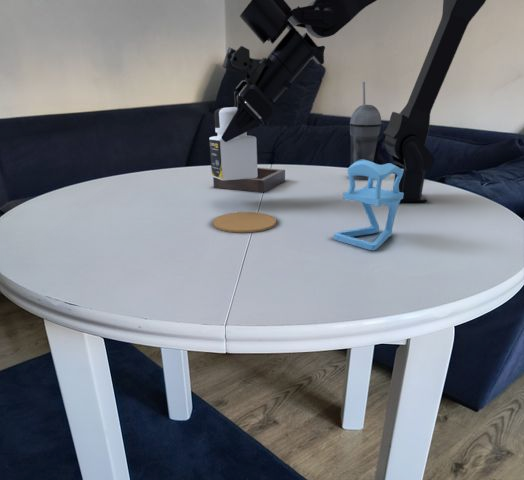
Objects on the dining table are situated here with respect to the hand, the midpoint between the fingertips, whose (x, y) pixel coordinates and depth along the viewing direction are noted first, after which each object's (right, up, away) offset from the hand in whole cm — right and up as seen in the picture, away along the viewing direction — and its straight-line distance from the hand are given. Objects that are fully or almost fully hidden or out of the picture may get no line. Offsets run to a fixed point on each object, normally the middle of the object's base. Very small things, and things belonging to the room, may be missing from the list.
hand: (222, 137), depth 89 cm
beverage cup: (+31, +2, +26) cm, 40 cm away
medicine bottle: (+2, -6, +4) cm, 8 cm away
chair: (+24, -22, -12) cm, 35 cm away
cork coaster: (+4, -17, -4) cm, 18 cm away
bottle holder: (+4, -1, +21) cm, 22 cm away
